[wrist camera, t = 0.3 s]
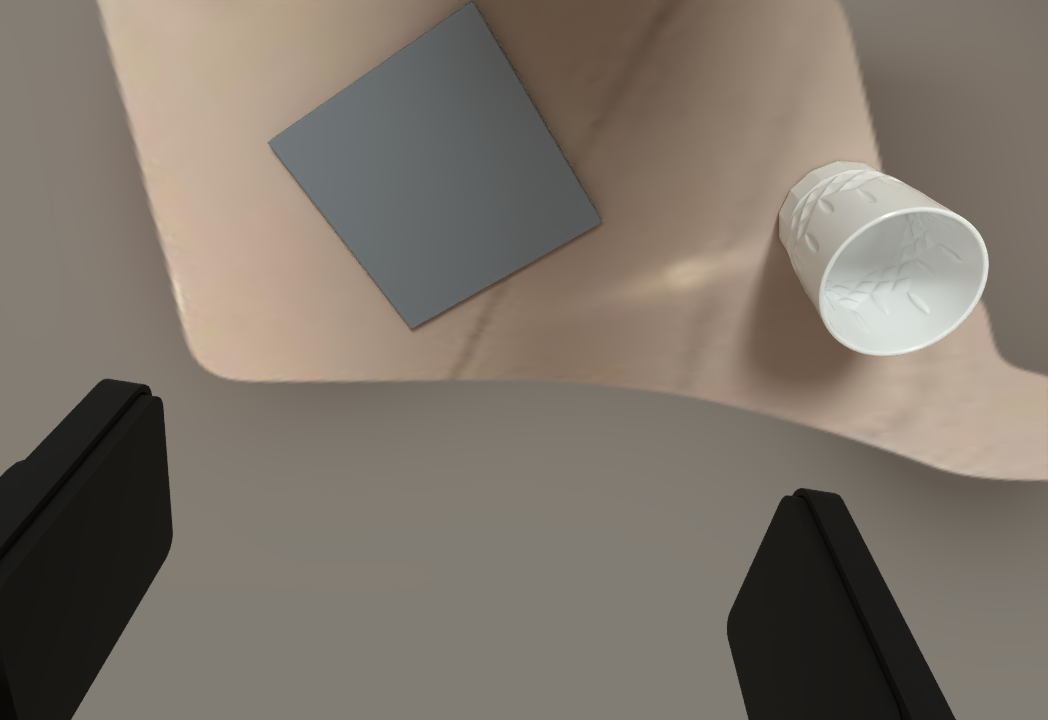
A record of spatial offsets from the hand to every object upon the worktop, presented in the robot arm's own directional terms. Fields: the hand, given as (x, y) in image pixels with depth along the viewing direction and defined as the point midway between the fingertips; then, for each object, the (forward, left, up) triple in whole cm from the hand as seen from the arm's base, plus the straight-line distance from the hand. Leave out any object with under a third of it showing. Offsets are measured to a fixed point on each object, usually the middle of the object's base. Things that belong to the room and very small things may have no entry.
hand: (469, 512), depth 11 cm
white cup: (+16, +12, -35) cm, 41 cm away
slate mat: (+2, -7, -35) cm, 36 cm away
